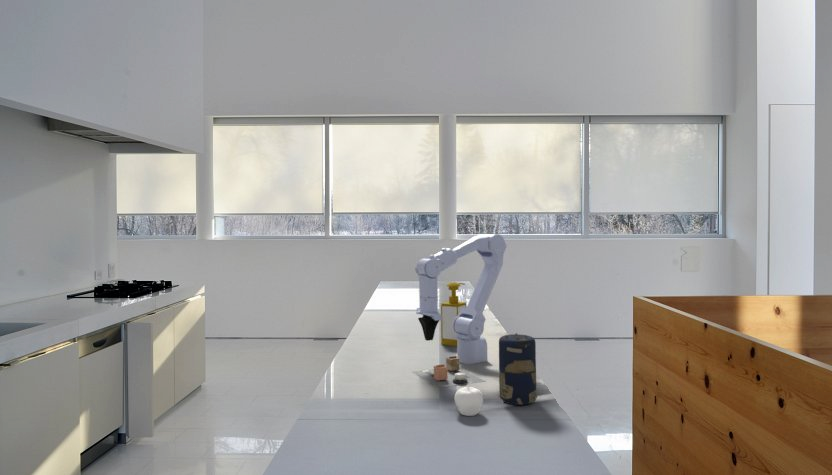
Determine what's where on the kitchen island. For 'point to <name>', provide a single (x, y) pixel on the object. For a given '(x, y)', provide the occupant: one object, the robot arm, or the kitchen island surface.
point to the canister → (517, 369)
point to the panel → (451, 381)
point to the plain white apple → (469, 400)
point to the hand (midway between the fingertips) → (429, 340)
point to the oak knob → (452, 363)
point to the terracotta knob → (440, 372)
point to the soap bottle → (450, 315)
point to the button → (459, 376)
